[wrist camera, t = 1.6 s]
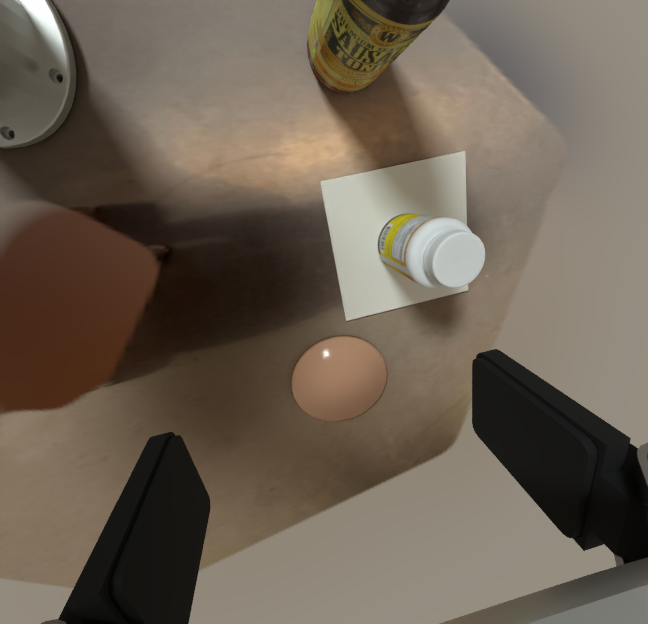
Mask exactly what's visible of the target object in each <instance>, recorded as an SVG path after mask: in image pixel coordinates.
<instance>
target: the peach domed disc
mask: <svg viewBox="0 0 648 624" xmlns="http://www.w3.org/2000/svg"><path fill="white" fill-rule="evenodd" d="M386 379H387V370H386V365H385V362H384V360H383V358H382V356H381V354H380V353H379V352H378V350H377V349H376V348H375V347H374V346H373V345H372V344H370V343H369V342H367V341H365V340H363V339H361V338H358V337H354V336H345V335H342V336H334V337H329V338H326V339H323V340H321V341H319V342H317V343H315V344H314V345H312V346H311V347H310V348H308V349H307V350H306V351H305V352H304V353H303V354H302V356H301V357H300V358H299V360H298V361H297V363H296V365H295V367H294V370H293V374H292V390H293V395H294V398H295V400H296V402H297V403H298V405H299V406H300V407H301V409H303V410H304V411H305V412H306V413H307V414H309V415H311V416H312V417H314V418H317V419H320V420H324V421H343V420H348V419H351V418H354V417H356V416H358V415H360V414H362V413H364V412H365V411H367V410H368V409H369V408H370V407H372V406H373V405H374V404H375V402H376V401H377V400H378V399H379V397H380V396H381V394H382V392H383V390H384V387H385V384H386Z"/></svg>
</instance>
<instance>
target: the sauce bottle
mask: <svg viewBox="0 0 648 624" xmlns="http://www.w3.org/2000/svg"><path fill="white" fill-rule="evenodd" d="M448 2H449V0H317V1H316V4H315V7H314V10H313V14H312V17H311V20H310V26H309V33H308V42H307V48H308V57H309V60H310V64H311V67H312V69H313V71H314V73H315V75H316V77H317V78H318V79H319V80H320V81H321V82H322V83H323V84H324V85H325V86H326V87H328V88H329V89H331V90H332V91H334V92H339V93H341V94H343V93H350V92H355V91H357V90H360V89H363V88H365V87H367V86H368V85H369V84H371V83H372V82H373V81H374V80H375V79H376V78H377V77H378V76H379V75H380V74H381V73H382V72H383V71H384V70H385V69H386V68H387V67H388V66H389V65H390V64H391V63H392V62H393V61H394V60H395V59H396V58H397V57H398V56H399V55H400V54H401V53H402V52H403V51H404V50H405V49H406V48H407V47H408V46H409V45H410V44H411V43H412V42H413V41H414V40H415V39H416V38H417V37H418V36H419V35H420V34H421V33H422V32H423V31H424V30H425V29H426V28H427V27H428V26H429V25H430V24H431V22H432V21H433V20H435V19H436V18H437V17H438V16H439V15H440V14H441V12H442V11H443V10H444V9H445V7H446V5H447V4H448Z"/></svg>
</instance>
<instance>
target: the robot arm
mask: <svg viewBox="0 0 648 624" xmlns="http://www.w3.org/2000/svg"><path fill="white" fill-rule="evenodd" d="M61 77H63V81H62V82H61V80H60V79H61ZM75 91H76V65H75V59H74V52H73V49H72V45H71V42H70V39H69V36H68V33H67V30H66V28H65V26H64V24H63V22H62V20H61V18H60V16H59V14H58V12H57V10H56V8H55V6H54V5H53V3H52V2H51V0H0V148H7V149H11V148H19V147H26V146H29V145H32V144H35V143H38V142H40V141H42V140H44V139H45V138H47V137H48V136H50V135H51V134H53V133H54V132H55V131H56V130H57V129H58V128H59V127H60V125H61V124H62V123H63V122H64V121H65V119H66V117H67V115H68V113H69V111H70V109H71V107H72V104H73V100H74V96H75ZM14 134H15V137H14ZM472 424H473V428H474V431H475V433H476V434H477V435H478V437H479V438H480V439H481V440H482V441H483V442H484V444H485V445H486V446H487V447H488V448H489V449H490V451H491V452H492V453H493V454H494V455H495V456H496V457H497V459H498V460H499V461H500V462H501V463H502V464H503V466H505V468H506V469H507V470H508V471H509V472H510V473H511V475H512V476H513V477H514V478H515V479H516V480H517V482H518V483H519V484H520V485H521V486H522V487H523V488H524V490H525V491H526V492H527V493H528V494H529V495H530V497H531V498H532V499H533V500H534V501H535V502H536V504H537V505H538V506H539V507H540V508H541V509H542V510H543V512H544V513H545V514H546V515H547V516H548V517H549V519H550V520H551V521H552V522H553V523H554V524H555V525H556V526H557V528H558V529H559V530H560V531H561V532H562V533H563V534H564V535H565V536H567V537H569V538H573V539H574V540H575V541H576V542H577V544H578V545H579V546H580V547H581V548H582V549H583V550H584V551H585V550H588V549H591V548H594V547H597V546H600V545H603V544H605V545H606V546H607V547H608V548H609V549H610V550H611V551H612V552H613V553H614V556H615V561H616V566H617V567H614V568H610V569H607V570H604V571H600V572H597V573H594V574H591V575H587V576H584V577H581V578H578V579H575V580H572V581H569V582H566V583H562V584H560V585H556V586H553V587H550V588H547V589H544V590H541V591H538V592H535V593H532V594H529V595H526V596H523V597H519V598H517V599H514V600H510V601H507V602H504V603H501V604H498V605H495V606H492V607H489V608H486V609H483V610H480V611H477V612H474V613H471V614H468V615H464V616H461V617H458V618H455V619H452V620H449V621H446V622H444V623H440V624H648V443H646V444H643V445H641V446H640V448H639V449H638V448H636V447H635V446H633V445H632V444H630V438H629V437H628V436H626V435H625V434H623V433H621V432H620V431H619V430H617V429H616V428H614V427H613V426H611V425H610V424H608V423H607V422H605V421H604V420H602V419H601V418H599V417H598V416H596V415H595V414H593V413H592V412H590V411H589V410H587V409H586V408H584V407H583V406H581V405H580V404H578V403H577V402H575V401H574V400H572V399H571V398H570V397H568V396H567V395H565V394H563V393H562V392H561V391H559V390H558V389H556V388H555V387H553V386H552V385H550V384H549V383H547V382H546V381H544V380H543V379H541V378H539V377H538V376H537V375H535V374H534V373H532V372H531V371H529V370H528V369H526V368H525V367H523V366H522V365H520V364H519V363H517V362H516V361H514V360H513V359H511V358H510V357H508V356H507V355H505V354H504V353H503V352H501V351H499V350H497V349H494V350H490V351H486V352H482V353H479V354H477V356H476V359H474V360H473V363H472ZM209 513H210V498H209V495H208V493H207V491H206V489H205V487H204V484H203V482H202V480H201V478H200V476H199V474H198V471H197V469H196V467H195V465H194V463H193V461H192V458H191V456H190V454H189V452H188V450H187V448H186V445H185V443H184V441H183V439H182V437H181V436H180V435H177V436H175V434H174V433H173V432H169V433H165V434H161V435H157V436H153V437H151V438H150V439H149V440H148V442H147V444H146V446H145V448H144V450H143V452H142V454H141V456H140V458H139V460H138V462H137V464H136V466H135V468H134V470H133V472H132V474H131V476H130V478H129V480H128V482H127V484H126V486H125V488H124V490H123V492H122V494H121V496H120V498H119V500H118V501H117V503H116V505H115V507H114V509H113V511H112V513H111V515H110V517H109V519H108V521H107V523H106V525H105V527H104V529H103V531H102V533H101V535H100V537H99V539H98V541H97V543H96V545H95V547H94V549H93V551H92V553H91V555H90V557H89V559H88V561H87V563H86V565H85V567H84V569H83V571H82V573H81V575H80V577H79V579H78V581H77V583H76V585H75V587H74V589H73V591H72V593H71V595H70V597H69V599H68V601H67V603H66V605H65V607H64V609H63V611H62V613H61V615H60V617H59V619H56V620H51V621H46V622H43V623H41V624H188V623H189V617H190V612H191V606H192V602H193V596H194V591H195V586H196V581H197V575H198V570H199V565H200V560H201V555H202V549H203V544H204V539H205V534H206V528H207V523H208V518H209Z"/></svg>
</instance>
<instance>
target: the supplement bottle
mask: <svg viewBox="0 0 648 624" xmlns="http://www.w3.org/2000/svg"><path fill="white" fill-rule="evenodd" d="M377 248H378V253H379V256H380V258H381V260H382V261H383V262H384V263H385V264H386V265H387V266H388V267H390V268H391V269H393V270H395V271H397V272H398V273H400V274H402V275H403V276H405V277H407V278H409V279H410V280H412V281H414V282H416V283H417V284H419V285H421V286H423V287H425V288H428V289H435V290H438V289H444V288H448V287H451V288H457V287H462V286H464V285H466V284H468V283H470V282H471V281H473V280H474V279H475V278H476V277H477V275H478V274H479V273H480V271H481V269H482V267H483V264H484V261H485V248H484V245H483V243H482V241H481V240H480V239H479V238H478V237H477V236H476V235H474V234H472V232H471V230H470V229H469V228H468V227H467V226H466V225H465V224H464V223H463V222H461V221H459V220H457V219H454V218H449V217H439V216H429V215H419V214H400V215H397V216H395V217H393V218H392V219H390V220H389V221H388V222H387V223H386V224H385V225H384V226H383V228H382V229H381V231H380V233H379V236H378V241H377Z"/></svg>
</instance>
